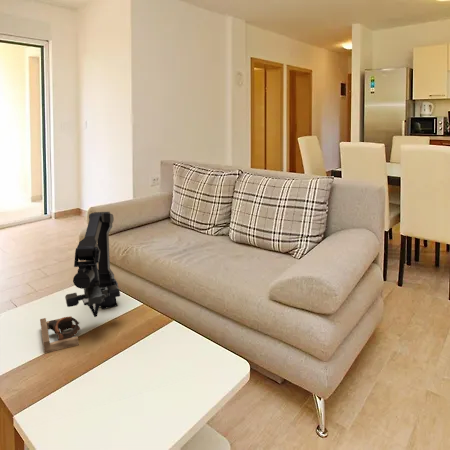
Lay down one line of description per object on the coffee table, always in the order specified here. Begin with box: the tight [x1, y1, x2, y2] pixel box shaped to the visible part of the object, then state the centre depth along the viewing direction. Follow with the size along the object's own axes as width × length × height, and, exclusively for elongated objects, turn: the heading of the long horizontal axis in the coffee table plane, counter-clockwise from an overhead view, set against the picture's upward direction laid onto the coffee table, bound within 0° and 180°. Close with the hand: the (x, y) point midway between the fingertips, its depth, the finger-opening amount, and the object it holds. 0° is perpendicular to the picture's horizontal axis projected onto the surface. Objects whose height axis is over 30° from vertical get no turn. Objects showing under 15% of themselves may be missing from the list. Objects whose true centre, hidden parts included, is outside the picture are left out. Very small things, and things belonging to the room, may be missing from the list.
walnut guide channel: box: [39, 315, 80, 354], centre depth 152 cm, size 11×19×4 cm, turn 26°
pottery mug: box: [48, 316, 81, 341], centre depth 152 cm, size 12×10×8 cm
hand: (95, 316), depth 157 cm, fingers closed
